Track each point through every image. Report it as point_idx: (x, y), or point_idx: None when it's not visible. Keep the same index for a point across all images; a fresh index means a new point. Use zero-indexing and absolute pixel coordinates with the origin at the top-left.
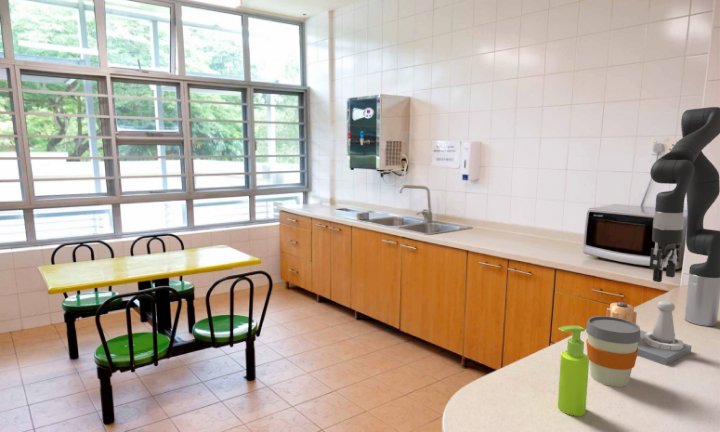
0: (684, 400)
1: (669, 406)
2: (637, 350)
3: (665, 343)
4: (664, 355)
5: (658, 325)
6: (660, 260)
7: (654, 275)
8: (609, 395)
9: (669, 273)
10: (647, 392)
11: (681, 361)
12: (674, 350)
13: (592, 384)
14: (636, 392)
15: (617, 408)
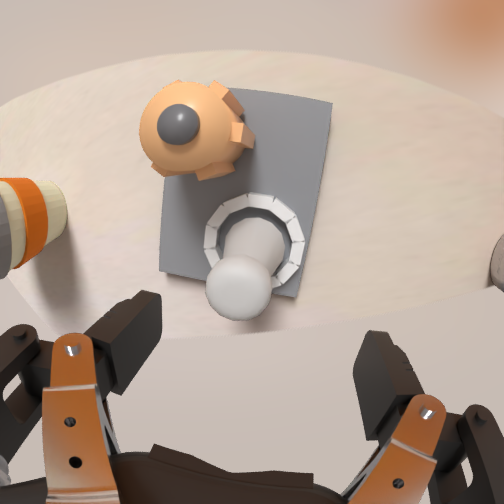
0: (74, 309)
1: (50, 296)
2: (15, 267)
3: (218, 258)
4: (172, 264)
5: (226, 246)
6: (20, 433)
7: (106, 320)
8: None
9: (366, 363)
10: (54, 267)
11: None
12: None
13: None
14: (45, 256)
15: None
